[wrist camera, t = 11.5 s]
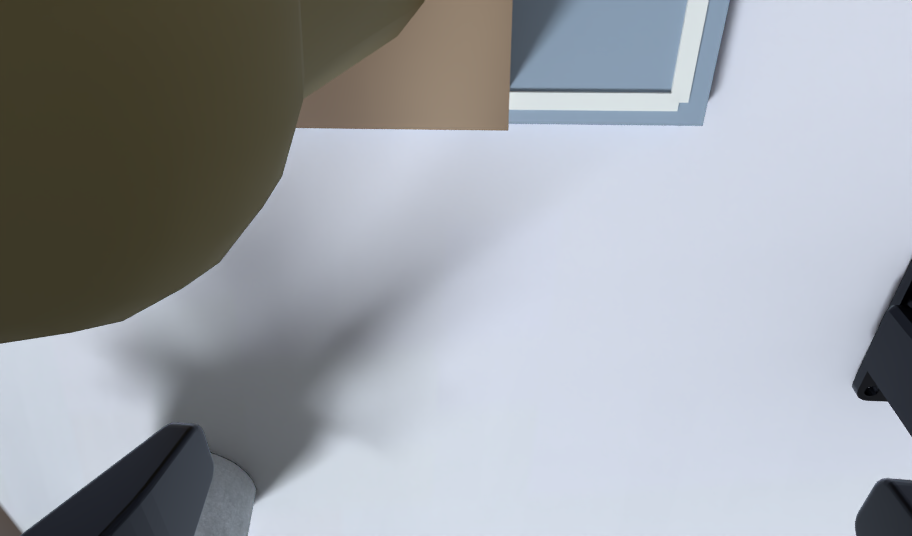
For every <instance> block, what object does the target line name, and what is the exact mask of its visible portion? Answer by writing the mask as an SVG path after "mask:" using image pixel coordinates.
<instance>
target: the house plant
mask: <svg viewBox="0 0 912 536" xmlns="http://www.w3.org/2000/svg"><path fill="white" fill-rule="evenodd" d="M211 456H212V459H213V463H214V474H213V479H212V482H211V485H210V488H209V492H208V495H207V498H206V501H205V504H204V507H203V510H202V514H201V517H200V520H199V523H198V526H197V529H196V532H195V535H194V536H248V531H249V526H250V520H251V515H252V510H253V504H254V499H255V494H256V488H255V485H254V483H253V481H252V479H251V478H250V477H249V476H248V474H247V473H246V472H245V471H244V470H242V469H241V468H240V467H239V466H237V465H236V464H235V463H233V462H231V461H229V460H227V459H225V458H223V457H221V456H218V455H215V454H212V453H211Z"/></svg>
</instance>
